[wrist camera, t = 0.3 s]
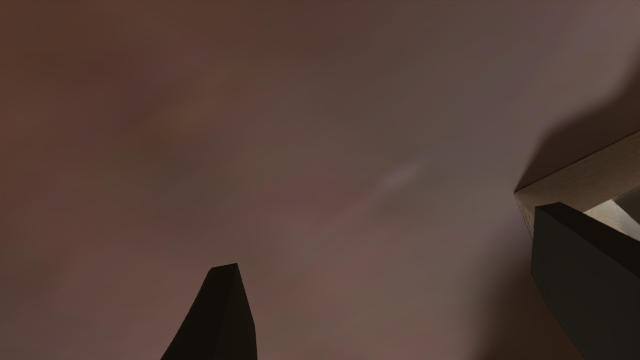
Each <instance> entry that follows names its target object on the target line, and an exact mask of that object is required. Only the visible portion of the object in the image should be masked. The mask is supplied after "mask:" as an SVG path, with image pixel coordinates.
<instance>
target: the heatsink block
mask: <svg viewBox="0 0 640 360" xmlns="http://www.w3.org/2000/svg"><path fill="white" fill-rule="evenodd" d="M638 190H640V131H638V132H636V133H634V134H632V135H630V136H628V137H626V138H624V139H622V140H620V141H618V142H616V143H614V144H612V145H610V146H608V147H606V148H604V149H602V150H600V151H598V152H596V153H594V154H592V155H590V156H588V157H586V158H584V159H582V160H580V161H578V162H576V163H574V164H571V165H569V166H567V167H565V168H563V169H561V170H559V171H557V172H555V173H553V174H551V175H549V176H547V177H545V178H543V179H541V180H539V181H537V182H535V183H533V184H531V185H529V186H527V187H525V188H523V189H521V190H519V191H517V192H515V193H514V195H515V197H516V200H517V202H518V205H519V207H520V210H521V212H522V214H523V217H524V219H525V222H526V224H527V227H528V229H529V232H530V234H531V237H532V239H533V231H534V215H535V206H541V205H546V204H551V203H557V202H561V203H564V204H566V205H568V206H570V207H572V208H574V209H577V210H579V211H581V212H583V213H585V214H586V215H588V216H590V217H592V218H594V219H596V220H598V221H600V222H602V223H604V224H606V225H608V226H610V227H612V228H614V229H616V230H618V231H620V232H622V233H624V234H626V233H625V232H624V231H623V230H622V228H621V225H620V221H619V218H618V214H617V211H616V207H615V204H614V202H615V201H617V200H619V199H621V198H623V197H625V196H627V195H629V194H632V193H634V192H636V191H638ZM626 235H627V234H626Z"/></svg>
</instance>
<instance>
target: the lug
mask: <svg viewBox="0 0 640 360" xmlns="http://www.w3.org/2000/svg"><path fill="white" fill-rule="evenodd" d="M614 204H615V207H616V211H617V214H618V218H619V221H620V225H621V228H622V230H623V231H624V232H625V233H626V234H627V235H628V236H630V237H632V238H634V239H636V240H638V241H640V190H638V191H636V192H634V193H632V194H629V195H627V196H625V197H623V198H621V199H619V200H617V201H615V202H614Z"/></svg>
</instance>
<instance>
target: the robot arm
mask: <svg viewBox="0 0 640 360" xmlns="http://www.w3.org/2000/svg"><path fill="white" fill-rule="evenodd" d="M531 274H532V276H533V278H534V280H535V282H536V284H537V286H538V288H539V290H540V292H541V294H542V296H543V298H544V300H545V301H546V303H547V305H548V307H549V309H550V310H551V312H552V313H553V315H554V316H555V318H556V319H557V320H558V322H559V323H560V325H561V326H562V328H563V329H564V330H565V332H566V333H567V335H568V336H569V338H570V339H571V340H572V342H573V343H574V345H575V346H576V347H577V349H578V350H579V352H580V353H581V354H582V356H583V357H584V359H585V360H640V241H638V240H636V239H634V238H632V237H630V236H628V235H626V234H624V233H622V232H620V231H618V230H616V229H614V228H612V227H610V226H608V225H606V224H604V223H602V222H600V221H598V220H596V219H594V218H592V217H590V216H588V215H586V214H585V213H583V212H581V211H579V210H577V209H574V208H572V207H570V206H568V205H566V204H564V203H561V202H557V203H551V204H546V205H541V206H535V215H534V231H533V247H532V262H531ZM160 360H257V346H256V333H255V325H254V321H253V317H252V314H251V310H250V307H249V303H248V300H247V296H246V293H245V289H244V286H243V282H242V279H241V275H240V271H239V268H238V264H237V263H234V264H229V265H224V266H218V267H213V268H211V269H210V271H209V272H208V274H207V276H206V278H205V280H204V282H203V284H202V286H201V289H200V291H199V293H198V295H197V297H196V299H195V301H194V303H193V305H192V306H191V308H190V310H189V312H188V314H187V316H186V318H185V319H184V321H183V323H182V325H181V327H180V328H179V330H178V332H177V334H176V335H175V337H174V339H173V341H172V342H171V344H170V345H169V347H168V348H167V350H166V352H165V353H164V355H163V356H162V358H161V359H160Z"/></svg>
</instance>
